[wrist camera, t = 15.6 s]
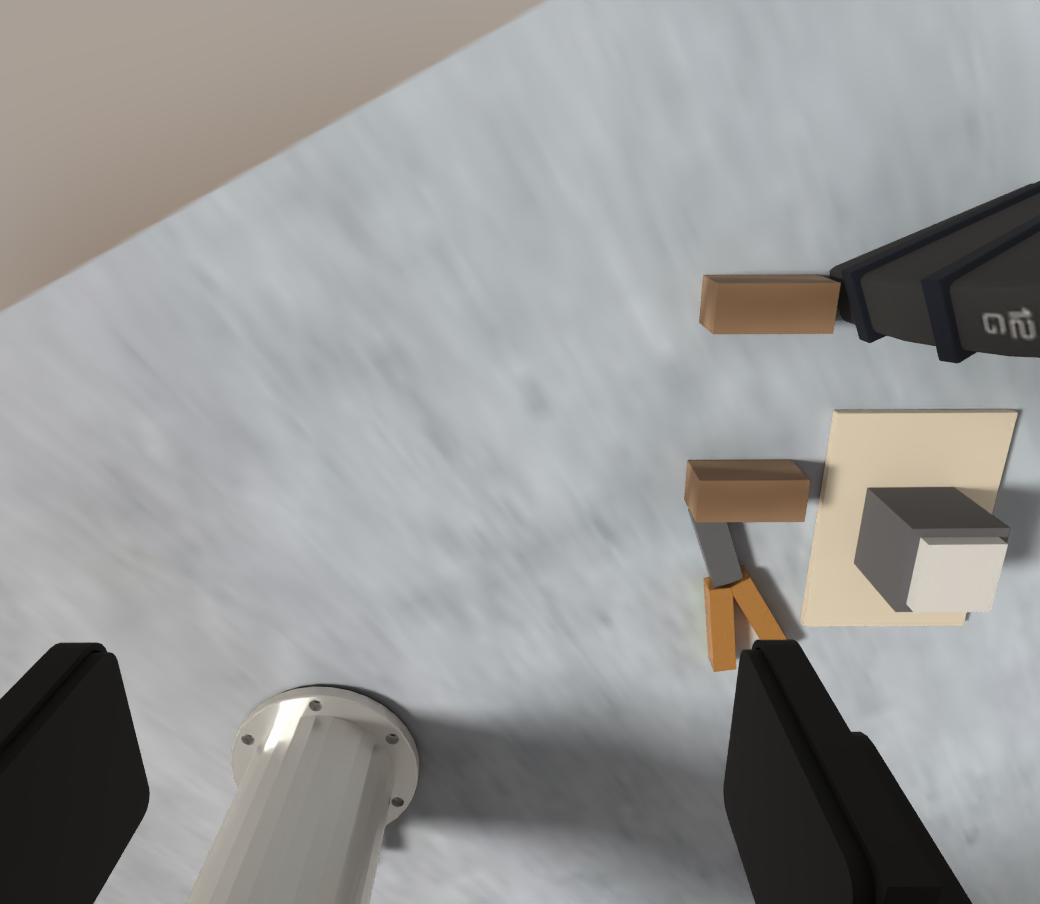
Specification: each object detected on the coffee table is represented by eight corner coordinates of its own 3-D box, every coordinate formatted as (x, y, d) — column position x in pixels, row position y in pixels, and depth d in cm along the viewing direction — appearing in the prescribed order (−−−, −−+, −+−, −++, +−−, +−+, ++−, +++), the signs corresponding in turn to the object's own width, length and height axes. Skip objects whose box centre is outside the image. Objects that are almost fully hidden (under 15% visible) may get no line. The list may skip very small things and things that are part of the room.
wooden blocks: (785, 498, 43) (804, 521, 40) (684, 499, 43) (695, 522, 40) (817, 274, 38) (840, 282, 35) (703, 275, 38) (717, 283, 35)
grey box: (936, 562, 44) (997, 620, 38) (853, 563, 44) (902, 620, 38) (953, 486, 42) (1020, 535, 36) (867, 487, 42) (920, 536, 36)
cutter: (785, 638, 47) (793, 652, 45) (709, 661, 47) (715, 675, 46) (743, 490, 43) (750, 501, 41) (661, 517, 43) (666, 528, 42)
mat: (958, 620, 46) (963, 625, 45) (800, 620, 46) (803, 626, 45) (1010, 409, 41) (1017, 412, 40) (833, 410, 41) (838, 413, 40)
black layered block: (775, 292, 37) (1107, 275, 23) (947, 189, 41) (1322, 123, 27) (795, 358, 38) (1122, 378, 25) (961, 253, 42) (1326, 220, 28)
